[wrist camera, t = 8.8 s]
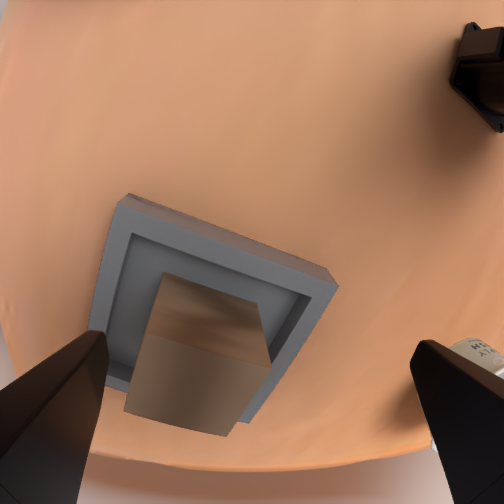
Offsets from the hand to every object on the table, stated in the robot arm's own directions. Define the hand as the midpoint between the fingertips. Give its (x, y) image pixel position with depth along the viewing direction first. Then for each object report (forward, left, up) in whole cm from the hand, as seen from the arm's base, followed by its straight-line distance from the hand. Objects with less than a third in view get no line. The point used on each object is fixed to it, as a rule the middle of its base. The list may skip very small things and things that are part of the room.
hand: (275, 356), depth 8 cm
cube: (0, +7, -11) cm, 13 cm away
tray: (0, +7, -12) cm, 14 cm away
